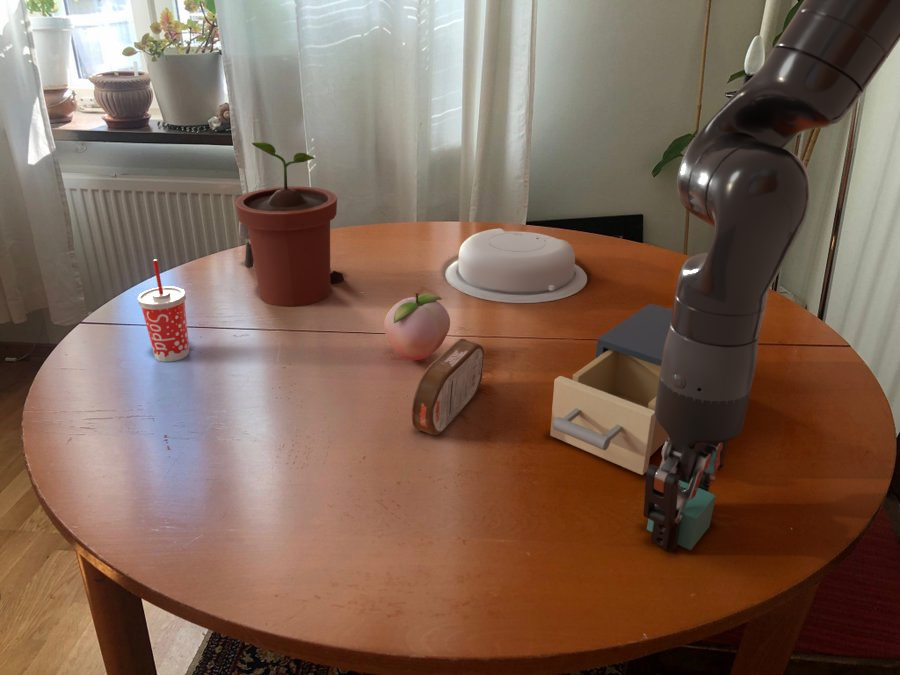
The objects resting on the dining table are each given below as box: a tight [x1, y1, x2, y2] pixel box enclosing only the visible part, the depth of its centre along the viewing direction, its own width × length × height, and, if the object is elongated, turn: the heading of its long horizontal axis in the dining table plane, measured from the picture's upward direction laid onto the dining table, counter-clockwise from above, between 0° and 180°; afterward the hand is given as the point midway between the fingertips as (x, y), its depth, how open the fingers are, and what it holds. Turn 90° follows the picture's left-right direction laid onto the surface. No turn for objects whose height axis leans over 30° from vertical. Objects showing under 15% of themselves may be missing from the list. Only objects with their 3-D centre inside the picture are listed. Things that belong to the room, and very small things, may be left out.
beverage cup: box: [136, 258, 190, 363], centre depth 101 cm, size 6×6×14 cm
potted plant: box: [234, 142, 345, 307], centre depth 121 cm, size 18×22×25 cm
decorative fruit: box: [383, 292, 451, 361], centre depth 100 cm, size 9×8×10 cm
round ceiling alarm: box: [444, 228, 588, 304], centre depth 130 cm, size 25×25×6 cm
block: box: [646, 480, 717, 551], centre depth 70 cm, size 4×4×4 cm
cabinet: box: [595, 303, 673, 366], centre depth 91 cm, size 14×13×9 cm
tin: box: [411, 338, 486, 436], centre depth 88 cm, size 15×3×8 cm, turn 154°
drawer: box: [549, 349, 669, 476], centre depth 82 cm, size 17×12×7 cm
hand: (677, 528), depth 71 cm, fingers open, 5 cm apart
